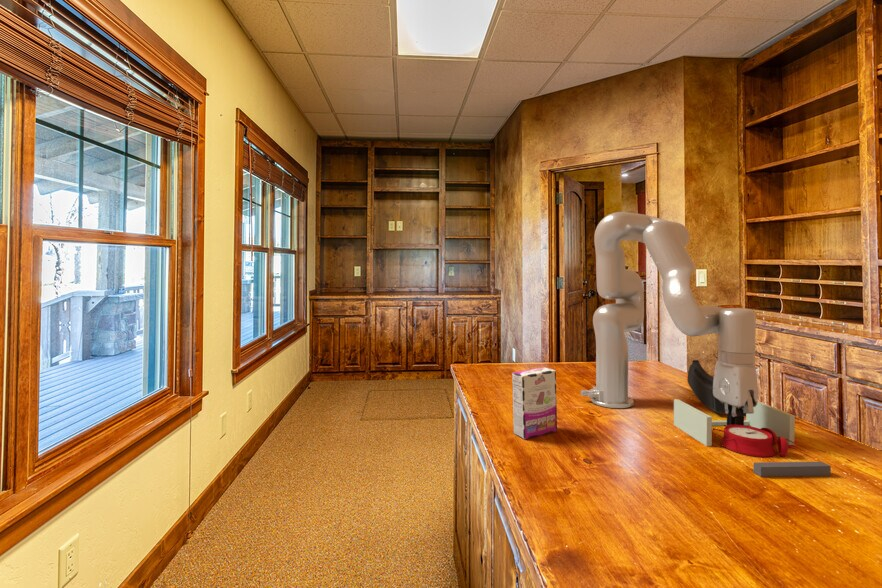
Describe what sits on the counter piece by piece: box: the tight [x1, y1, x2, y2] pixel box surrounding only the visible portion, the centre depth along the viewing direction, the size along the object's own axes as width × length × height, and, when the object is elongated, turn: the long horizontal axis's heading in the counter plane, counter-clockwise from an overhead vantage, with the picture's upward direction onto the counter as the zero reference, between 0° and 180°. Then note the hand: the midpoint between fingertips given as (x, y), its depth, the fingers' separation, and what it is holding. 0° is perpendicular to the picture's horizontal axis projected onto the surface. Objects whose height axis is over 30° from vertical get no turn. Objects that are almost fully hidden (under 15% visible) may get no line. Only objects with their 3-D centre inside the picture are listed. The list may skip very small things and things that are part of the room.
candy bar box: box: [511, 367, 558, 440], centre depth 108 cm, size 11×5×16 cm, turn 117°
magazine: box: [686, 359, 727, 415], centre depth 131 cm, size 17×3×30 cm
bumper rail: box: [752, 461, 832, 478], centre depth 85 cm, size 14×2×2 cm, turn 90°
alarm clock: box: [712, 425, 797, 458], centre depth 97 cm, size 10×6×15 cm
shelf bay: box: [673, 398, 796, 447], centre depth 105 cm, size 21×14×7 cm
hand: (735, 430), depth 104 cm, fingers closed
